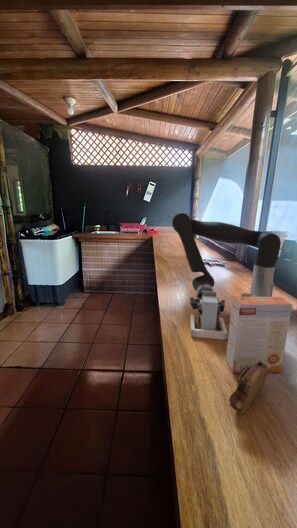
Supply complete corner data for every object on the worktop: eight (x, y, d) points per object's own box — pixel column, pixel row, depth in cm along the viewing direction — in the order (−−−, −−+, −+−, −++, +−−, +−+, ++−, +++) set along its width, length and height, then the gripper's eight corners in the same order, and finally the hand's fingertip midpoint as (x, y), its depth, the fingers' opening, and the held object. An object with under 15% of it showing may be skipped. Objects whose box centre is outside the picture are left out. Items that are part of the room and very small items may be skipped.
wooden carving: (248, 379, 63) (253, 346, 61) (266, 387, 61) (272, 353, 58) (222, 419, 51) (227, 380, 49) (243, 432, 48) (250, 391, 46)
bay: (222, 323, 93) (222, 317, 92) (227, 340, 82) (227, 333, 81) (190, 320, 95) (190, 314, 94) (190, 336, 83) (191, 330, 83)
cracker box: (269, 360, 72) (281, 295, 66) (281, 373, 66) (294, 304, 61) (224, 359, 71) (232, 295, 66) (231, 373, 65) (240, 303, 60)
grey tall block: (214, 321, 91) (217, 291, 88) (216, 331, 85) (220, 299, 81) (198, 320, 92) (200, 290, 89) (199, 329, 86) (202, 297, 82)
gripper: (189, 285, 101) (189, 301, 84) (224, 288, 98) (231, 305, 82) (188, 301, 102) (188, 320, 86) (222, 304, 100) (229, 324, 84)
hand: (209, 312), depth 84 cm, fingers closed on grey tall block, 5 cm apart
